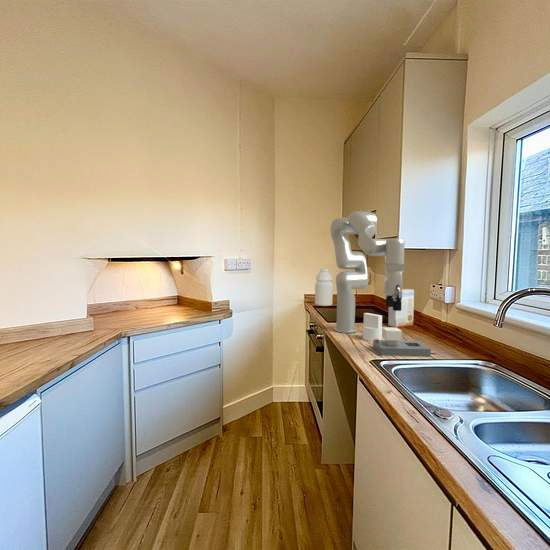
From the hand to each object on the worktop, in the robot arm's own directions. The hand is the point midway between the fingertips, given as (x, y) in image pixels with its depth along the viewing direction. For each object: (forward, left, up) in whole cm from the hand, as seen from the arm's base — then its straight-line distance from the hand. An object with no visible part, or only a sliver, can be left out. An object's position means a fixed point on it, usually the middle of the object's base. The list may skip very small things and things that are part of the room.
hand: (393, 308), depth 143 cm
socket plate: (0, +4, -18) cm, 19 cm away
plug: (0, 0, -15) cm, 15 cm away
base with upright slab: (-20, -3, -19) cm, 27 cm away
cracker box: (-50, +21, -19) cm, 57 cm away
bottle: (-120, -15, -19) cm, 123 cm away
